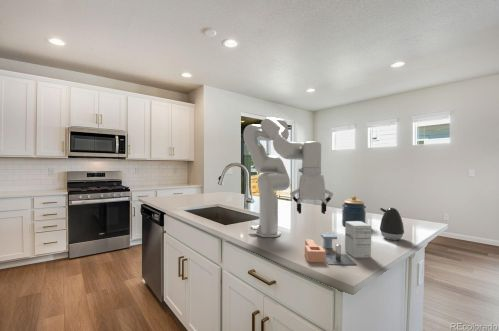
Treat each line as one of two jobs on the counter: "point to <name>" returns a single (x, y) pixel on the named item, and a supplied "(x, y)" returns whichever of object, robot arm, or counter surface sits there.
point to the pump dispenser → (391, 224)
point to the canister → (353, 210)
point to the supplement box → (358, 239)
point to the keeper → (328, 239)
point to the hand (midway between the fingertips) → (311, 213)
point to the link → (314, 252)
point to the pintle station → (339, 258)
